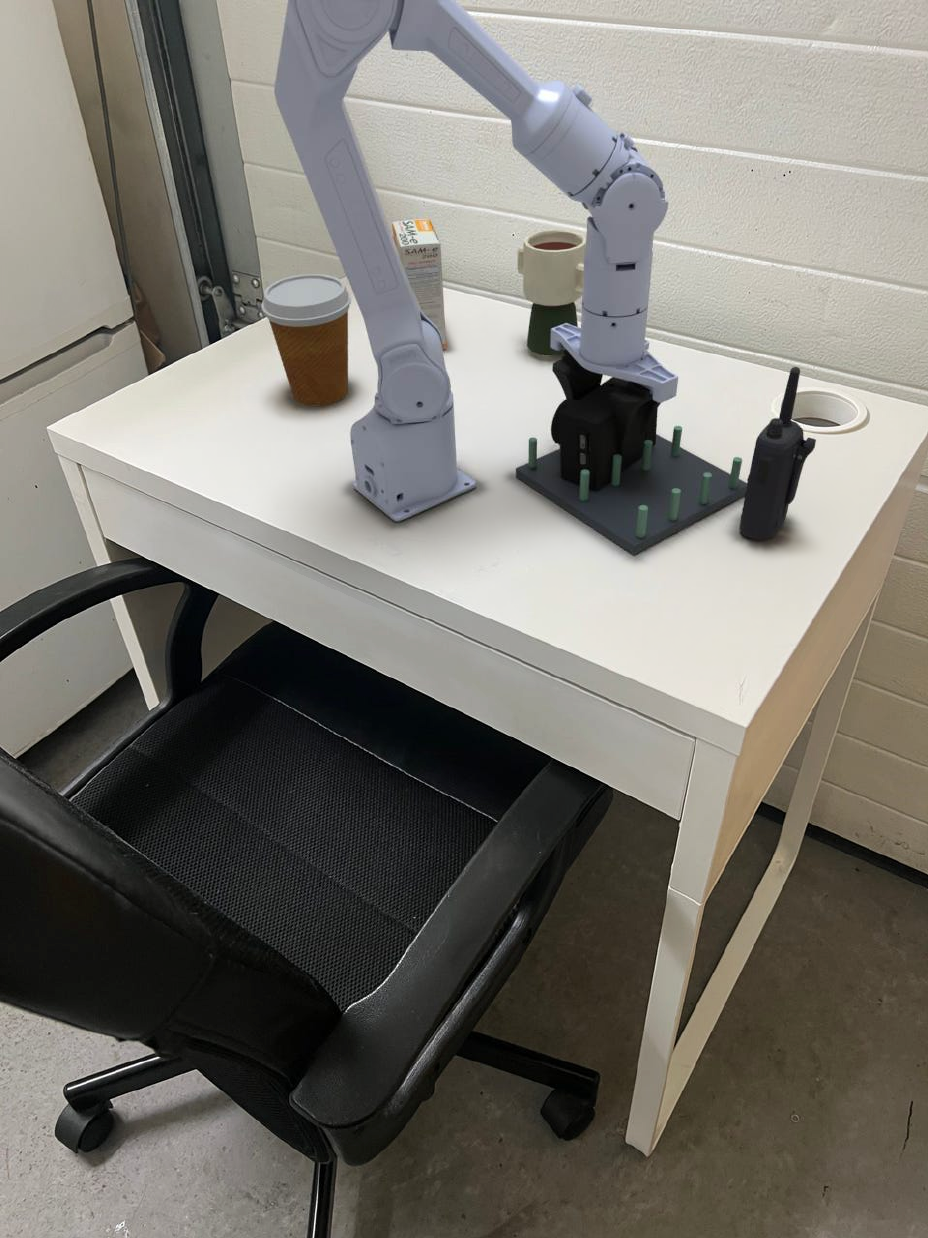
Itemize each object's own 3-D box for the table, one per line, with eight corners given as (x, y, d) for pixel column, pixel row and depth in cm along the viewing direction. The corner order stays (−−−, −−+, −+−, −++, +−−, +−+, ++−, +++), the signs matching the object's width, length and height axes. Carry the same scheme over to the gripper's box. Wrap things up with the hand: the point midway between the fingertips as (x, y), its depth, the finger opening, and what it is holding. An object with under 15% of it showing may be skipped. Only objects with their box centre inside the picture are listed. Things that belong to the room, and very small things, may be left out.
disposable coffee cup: (267, 411, 104) (246, 306, 96) (294, 371, 111) (276, 270, 103) (349, 415, 102) (335, 309, 94) (371, 375, 109) (359, 273, 101)
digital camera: (610, 430, 96) (611, 366, 91) (656, 444, 93) (659, 378, 88) (549, 474, 90) (548, 408, 86) (596, 491, 87) (597, 423, 83)
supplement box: (399, 326, 119) (390, 220, 110) (436, 322, 119) (430, 216, 111) (408, 354, 113) (399, 244, 104) (447, 350, 113) (441, 240, 104)
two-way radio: (755, 506, 86) (786, 354, 76) (802, 521, 84) (841, 367, 74) (731, 536, 83) (760, 382, 73) (780, 552, 81) (816, 396, 71)
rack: (633, 555, 82) (637, 518, 79) (515, 476, 92) (515, 441, 89) (748, 493, 88) (755, 456, 85) (626, 426, 98) (629, 391, 95)
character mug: (607, 352, 111) (614, 241, 102) (568, 373, 107) (572, 260, 99) (537, 327, 117) (539, 220, 108) (499, 346, 113) (497, 237, 105)
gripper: (709, 316, 78) (690, 456, 87) (592, 268, 87) (585, 399, 96) (649, 341, 75) (636, 483, 84) (534, 288, 84) (532, 422, 93)
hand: (605, 440), depth 90 cm, fingers closed on digital camera, 5 cm apart
